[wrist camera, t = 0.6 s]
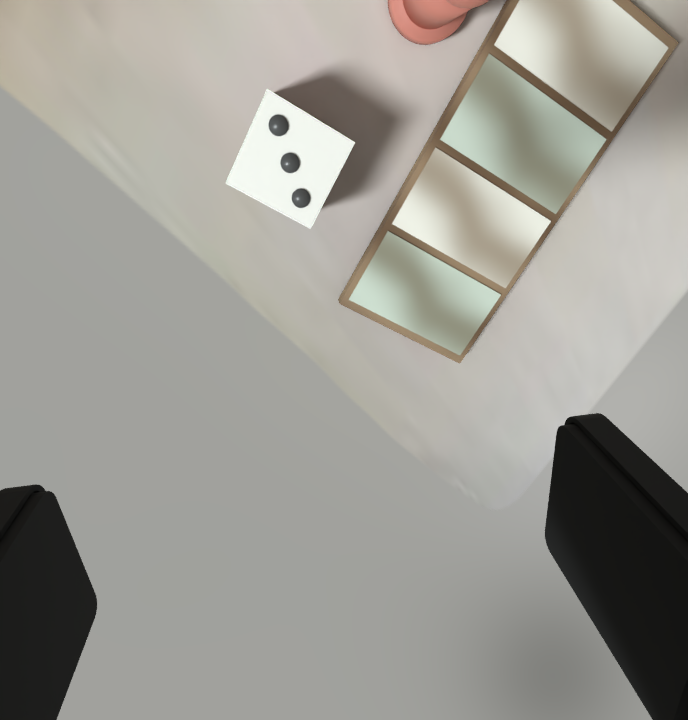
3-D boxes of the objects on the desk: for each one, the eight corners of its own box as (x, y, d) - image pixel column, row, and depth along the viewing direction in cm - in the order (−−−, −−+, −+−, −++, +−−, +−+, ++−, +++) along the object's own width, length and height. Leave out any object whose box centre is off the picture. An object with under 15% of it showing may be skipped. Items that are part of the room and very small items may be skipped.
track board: (541, -63, 28) (550, -69, 27) (668, 44, 31) (679, 42, 30) (338, 299, 35) (339, 304, 34) (455, 358, 38) (460, 364, 37)
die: (269, 94, 30) (267, 88, 25) (344, 139, 31) (355, 142, 27) (233, 174, 31) (225, 183, 27) (306, 214, 33) (310, 229, 28)
